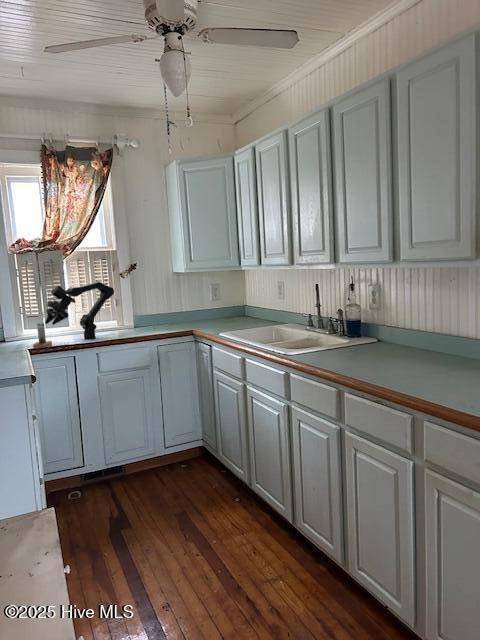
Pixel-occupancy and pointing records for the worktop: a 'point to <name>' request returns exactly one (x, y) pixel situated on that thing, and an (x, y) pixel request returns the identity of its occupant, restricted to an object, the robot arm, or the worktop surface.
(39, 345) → the step
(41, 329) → the column
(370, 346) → the worktop surface
